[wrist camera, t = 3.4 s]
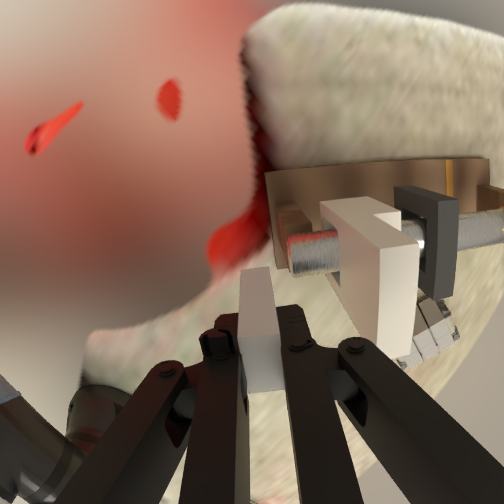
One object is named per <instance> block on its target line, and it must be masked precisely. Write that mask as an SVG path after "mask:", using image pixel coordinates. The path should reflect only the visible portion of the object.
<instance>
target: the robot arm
mask: <svg viewBox="0 0 504 504" xmlns="http://www.w3.org/2000/svg"><path fill="white" fill-rule="evenodd" d="M199 341H200V345H201V349H202V352H203V356H204V357H203V361H202V362H200V363H198V364H195V365H192V366H189V367H185V368H184V366H183V364H182V363H181V362H179V361H175V360H167V361H163V362H160V363H159V364H157V365H155V366H154V367H153V368H152V369H151V370H150V372H149V373H148V374H147V376H146V377H145V378H144V380H143V381H142V382H141V384H140V385H139V386H138V388H137V389H136V390H135V392H134V393H133V394H132V396H130V395H128V394H126V393H124V392H122V391H120V390H117V389H114V388H111V387H107V386H101V385H89V386H85V387H82V388H80V389H79V390H78V391H77V392H76V393H75V395H74V396H73V398H72V400H71V402H70V404H69V410H68V412H69V413H68V418H67V429H66V435H65V437H64V436H63V435H62V434H61V433H60V432H59V431H58V430H56V429H55V428H54V427H53V426H52V425H51V424H50V423H48V422H47V421H46V420H45V419H44V418H43V417H42V416H41V415H40V414H39V413H38V412H37V411H36V410H35V409H34V408H33V407H32V406H31V405H30V404H29V403H28V402H27V401H26V400H25V399H24V398H23V397H22V396H21V393H20V392H19V391H16V390H15V389H14V388H13V387H12V386H11V385H10V384H9V383H8V382H7V381H6V380H5V378H4V377H3V376H2V375H0V504H12V503H13V501H14V499H15V498H16V496H17V495H18V496H20V497H21V498H23V499H24V500H25V501H27V502H28V503H29V504H159V502H160V500H161V498H162V497H163V495H164V493H165V491H166V489H167V487H168V485H169V483H170V481H171V479H172V477H173V475H174V473H175V471H176V469H177V467H178V465H179V462H180V460H181V458H182V456H183V454H184V452H185V450H186V448H187V453H186V459H185V465H184V471H183V477H182V484H181V490H180V497H179V503H178V504H250V446H249V400H248V396H247V389H248V394H250V393H259V392H268V391H276V390H284V389H285V391H286V400H287V410H288V415H289V422H290V430H291V437H292V445H293V453H294V460H295V468H296V476H297V484H298V492H299V500H300V504H364V502H363V499H362V495H361V491H360V488H359V484H358V480H357V477H356V473H355V469H354V466H353V462H352V459H351V455H350V452H349V448H348V445H347V441H346V438H345V434H344V431H343V428H342V424H341V421H340V417H339V414H338V411H337V407H336V404H335V401H334V400H337V402H338V405H339V406H340V407H341V409H342V410H343V412H344V413H345V414H346V416H347V417H348V419H349V420H350V421H351V423H352V424H353V426H354V427H355V428H356V430H357V431H358V432H359V434H360V435H361V437H362V438H363V439H364V441H365V442H366V444H367V445H368V446H369V448H370V449H371V450H372V452H373V453H374V455H375V456H376V457H377V459H378V460H379V461H380V463H381V464H382V465H383V466H384V468H385V469H386V471H387V472H388V474H389V475H390V476H391V478H392V479H393V480H394V482H395V483H396V484H397V486H398V487H399V489H400V490H401V491H402V492H403V494H404V495H405V497H406V498H407V499H408V501H409V502H410V503H411V504H504V467H503V466H502V465H501V464H500V463H499V462H498V461H497V460H496V459H495V458H494V457H493V456H492V455H491V454H490V453H489V452H488V451H487V450H486V449H485V448H484V447H483V446H482V445H481V444H480V443H478V442H477V441H476V440H475V439H474V438H473V437H472V436H471V435H470V434H469V433H468V432H467V431H466V430H465V429H464V428H463V427H462V426H461V425H460V424H459V423H458V422H456V420H455V419H453V418H452V417H451V416H450V415H449V414H448V413H447V412H446V411H445V410H444V409H443V408H442V407H441V406H440V405H439V404H438V403H437V402H436V401H435V400H433V399H432V398H431V397H430V396H429V395H428V394H427V393H426V392H425V391H424V390H423V389H422V388H421V387H420V386H419V385H418V384H417V383H415V382H414V381H413V380H412V379H411V378H410V377H409V376H408V375H407V374H406V373H405V372H404V371H403V370H402V369H401V368H399V367H398V366H397V365H396V364H395V363H394V362H393V361H392V360H391V359H390V358H389V357H388V356H387V355H386V354H384V353H383V352H382V351H381V350H380V349H379V348H378V347H377V346H376V345H375V344H374V343H373V342H372V341H370V340H368V339H366V338H362V337H351V338H347V339H345V340H343V341H341V343H340V344H339V345H338V348H327V347H322V346H320V345H318V344H317V343H316V341H315V340H314V339H313V338H312V337H311V333H310V330H309V327H308V324H307V321H306V318H305V314H304V311H303V309H302V308H301V307H300V306H298V305H297V304H295V305H288V306H280V307H275V301H274V295H273V289H272V282H271V276H270V271H269V267H262V268H255V269H247V270H241V279H240V297H239V313H231V314H222V315H220V316H219V317H218V318H217V319H216V320H215V324H214V328H212V329H210V330H207V331H205V332H204V333H203V334H201V336H200V337H199ZM187 446H188V447H187Z"/></svg>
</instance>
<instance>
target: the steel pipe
mask: <svg viewBox="0 0 504 504" xmlns="http://www.w3.org/2000/svg"><path fill="white" fill-rule="evenodd" d="M401 232H403V233H404V234H406V235H408V236H409V237H411V238H412V239H414V240H416V241H417V242H419V243H420V256H419V258H424V257H426V244H427V219H426V218H417V219H408V220H401ZM500 243H504V207H500V208H498V209H494V210H485V211H476V212H468V213H459V228H458V247H457V252H458V251H463V250H469V249H474V248H479V247H485V246H490V245H495V244H500ZM287 251H288V259H289V266H290V271H291V275H292V278H297V277H304V276H311V275H318V274H324V273H331V272H338V271H340V262H339V243H338V230H337V229H328V230H321V231H313V232H305V233H298V234H290V235H287Z"/></svg>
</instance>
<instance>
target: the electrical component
mask: <svg viewBox="0 0 504 504" xmlns="http://www.w3.org/2000/svg"><path fill="white" fill-rule="evenodd" d="M419 306H420V308H421V310H422V312H420V310H419V308H418V306H417V305H416V311H415V320H414V328H413V336H412V343H411V350H410V354H409V355H406V356H402V357H398V358H397V362H398V363H399V365H400V367H401V368H402V369H403V370H404V369H405V368H406V367H407V366H408V367H409V369H411V368H413V367H415V366H416V365H418V364H420V363H422V362H424V361H423V358H422V355H423V357H424V359H425V361H426V360H428V359H429V358H431V357H433V356H435V355H436V354H438V353H439V350H438V348H437V346H439V348H440V351H441V352H442V351H443V350H445V349H447V348H448V347H450V346H452V345H454V344H455V342H454V341H456V340H457V339H459V338H460V336H459V333H458V330H457V327H456V326H455V325H454V323H453V320H452V317H451V312H450V311H448V310H449V309H448V308H446V305H445V304H444V301H443V300H440V301H438V302H437V303H436V302H435V300H434V301H433V300H432V299H431V298H430V297H429V298H427V299H425V300H424V301H422V302H420V303H419Z"/></svg>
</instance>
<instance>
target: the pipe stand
mask: <svg viewBox="0 0 504 504" xmlns="http://www.w3.org/2000/svg"><path fill="white" fill-rule="evenodd" d="M264 174H265V181H266V189H267V196H268V204H269V212H270V220H271V228H272V236H273V244H274V252H275V261H276V267H277V269H284V268H288V269H289V272H291V271H290V266H289V259H288V251H287V235H290V234H298V233H305V232H313V231H321V230H322V226H321V214H320V203H319V201H328V200H337V199H346V198H355V197H365V196H368V197H371V198H373V199H375V200H377V201H380V202H382V203H384V204H386V205H389V206H391V207H393V208H394V187H395V186H407V185H413V186H417V187H420V188H424V189H427V190H430V191H434V192H437V193H440V194H443V195H447V196H450V197H453V198H456V199H459V213H468V212H476V211H485V210H494V209H498V208H500V207H504V189H501V188H497V187H493V186H490V171H489V159H483V158H451V159H415V160H394V161H377V162H363V163H350V164H338V165H327V166H316V167H307V168H297V169H288V170H280V171H272V172H264ZM421 218H424V217H421Z"/></svg>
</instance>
